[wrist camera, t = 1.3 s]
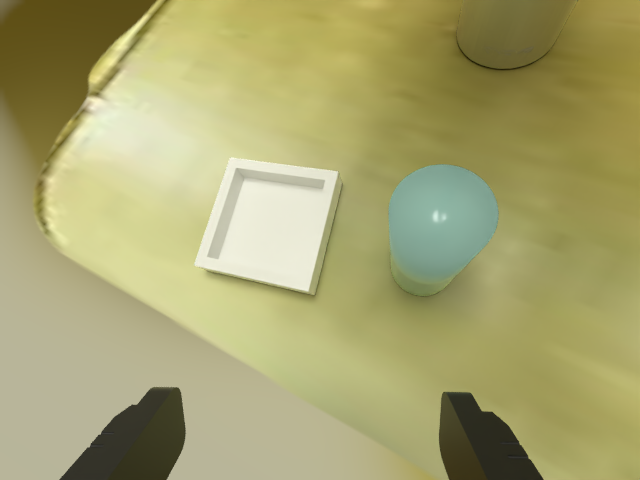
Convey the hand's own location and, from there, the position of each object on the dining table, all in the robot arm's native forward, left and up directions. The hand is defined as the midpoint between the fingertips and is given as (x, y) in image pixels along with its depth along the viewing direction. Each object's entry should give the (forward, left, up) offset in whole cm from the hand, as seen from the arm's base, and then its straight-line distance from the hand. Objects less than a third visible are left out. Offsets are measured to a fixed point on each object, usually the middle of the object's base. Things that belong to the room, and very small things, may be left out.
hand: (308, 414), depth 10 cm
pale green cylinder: (-9, +3, -19) cm, 21 cm away
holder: (-10, -11, -19) cm, 24 cm away
